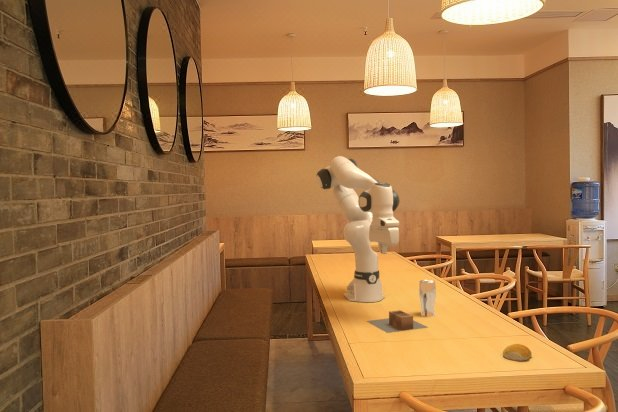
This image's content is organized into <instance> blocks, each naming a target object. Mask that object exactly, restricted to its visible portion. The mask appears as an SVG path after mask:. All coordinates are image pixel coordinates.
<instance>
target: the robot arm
mask: <svg viewBox="0 0 618 412" xmlns="http://www.w3.org/2000/svg"><path fill="white" fill-rule="evenodd" d="M315 175H316V182H317V184H318V186H320V188H321V189H323V190H329V189H331V188H333V189H332V194H333V196H334V200H335V202H336V204H337V206H338V208H339V209H340V211H341V213H342V214H343V216H344V218H345V219H346V220H347V221H349V222H348V223H346V224H345V225H344V227H343V232H342V233H343V234H342V235H343V238H344V239H345V241H346V242H347V243H349V245H350V246H351V248H352V250H353V253H354V259H355V261H354V262H355V263H354V264H355V270H354V273H353V279H352V280H351V281H350V282H349V283H348V285H347V286H346V289H347V292H344V293H343V296H344V297H345V298H346V299H348V301H349V302H360V303H375V302H376V303H377V302H379V301H382V300H383V299H385V297H386V295H384V292H383V283H382V280H380V275H381V273H380V270H379V255H378V253H377V252H376V251H375V250H373V249H372V246H371V243H372V242H373V243H377V245H378V248H379V253H380V254H382V255H387V252H388V251H387V250H388V248H389V246H398V244H399V242H400V229H399V227H400V221H399V219H396V218H395V216H394V212H395V211H396V210H397V208H398V207H399V205H400V197H399V195H398V193H397V192H396V191H395V190H394V189H393V187H392V185H391V184H390V183H387V182H380V181H379V180H378V179H376V178H375V177H373V176H372V175H370V174H368V173H367V172H365V171H363V170H361V169H360V168H359V166H358V163H357V162H356V161H355V160H354V159H353V158H347V157H345V156H342V155H338V156H335V157H334V158H332V159H331V161H330V165H328V166H326V167H324V168H321V169H320V170H318V171H317V172H316V174H315ZM355 190H362V192H361V193H360V194H359V195H358V193H357V192H356V191H355Z"/></svg>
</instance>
